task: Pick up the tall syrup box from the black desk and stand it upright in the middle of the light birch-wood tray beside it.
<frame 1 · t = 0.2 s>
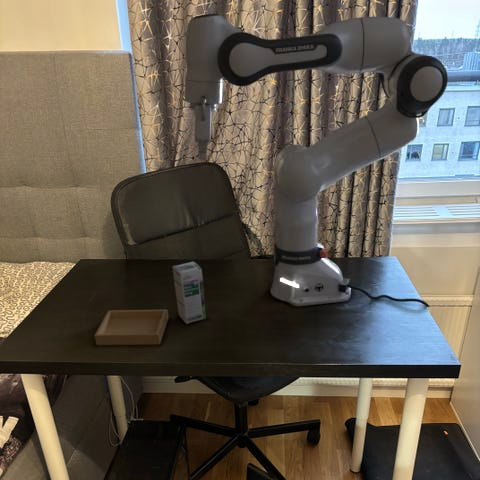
hand: (202, 155, 123), 39 cm above the table, tool pointing down, fingers open, 8 cm apart
syrup box: (192, 317, 131), on the table
tray: (133, 331, 125), on the table
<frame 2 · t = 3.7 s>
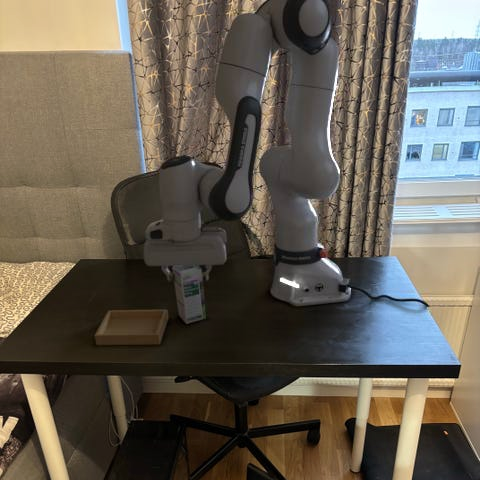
hand: (188, 280, 125), 11 cm above the table, tool pointing down, fingers closed on syrup box, 7 cm apart
syrup box: (192, 317, 131), on the table, touching gripper
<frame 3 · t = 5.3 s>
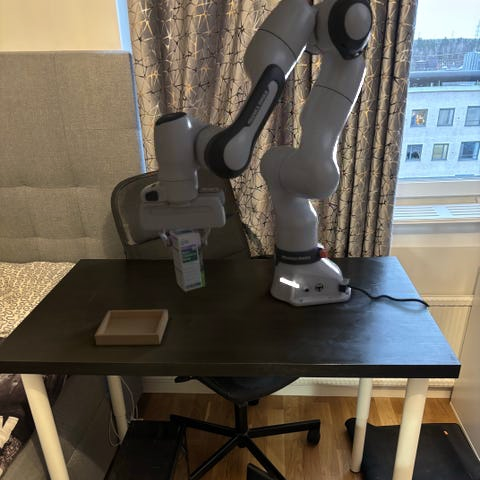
hand: (185, 245, 121), 20 cm above the table, tool pointing down, fingers closed on syrup box, 7 cm apart
syrup box: (191, 285, 127), point 9 cm above the table, touching gripper
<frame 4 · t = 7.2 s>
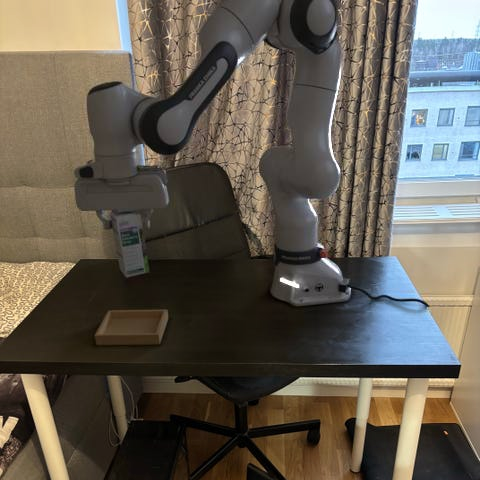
hand: (127, 228, 113), 27 cm above the table, tool pointing down, fingers closed on syrup box, 7 cm apart
syrup box: (134, 272, 119), point 16 cm above the table, touching gripper
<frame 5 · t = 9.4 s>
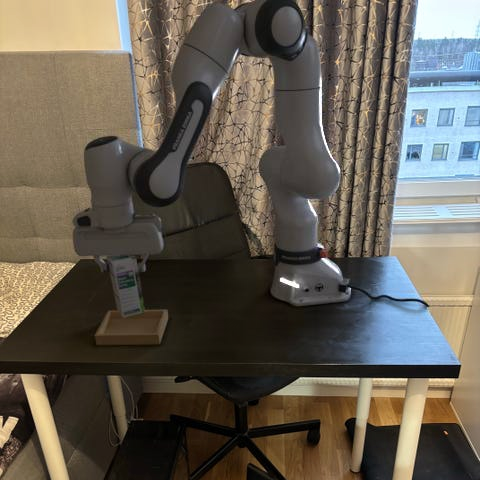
hand: (123, 271, 117), 17 cm above the table, tool pointing down, fingers closed on syrup box, 7 cm apart
syrup box: (131, 311, 123), point 6 cm above the table, touching gripper
when the fingers open (12 cm above the table, at t = 11.3 s): syrup box stays where it is, resting on tray.
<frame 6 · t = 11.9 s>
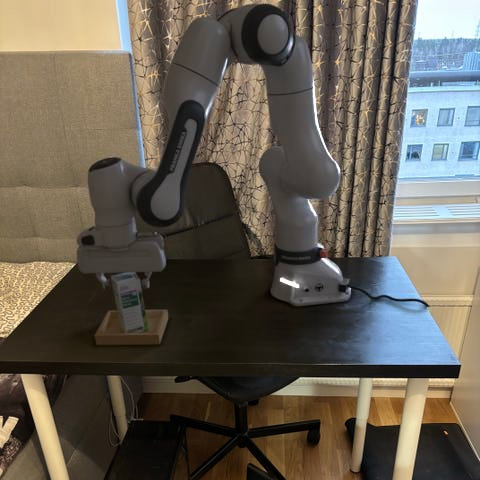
hand: (126, 287, 119), 12 cm above the table, tool pointing down, fingers open, 8 cm apart
syrup box: (134, 329, 125), point 1 cm above the table, touching tray
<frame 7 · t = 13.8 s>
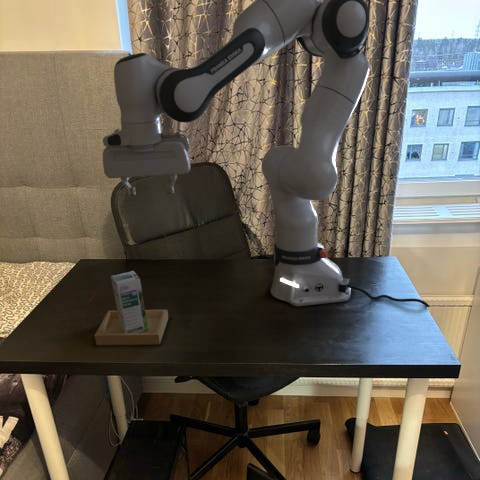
hand: (151, 194, 121), 31 cm above the table, tool pointing down, fingers open, 8 cm apart
nothing on the table moved.
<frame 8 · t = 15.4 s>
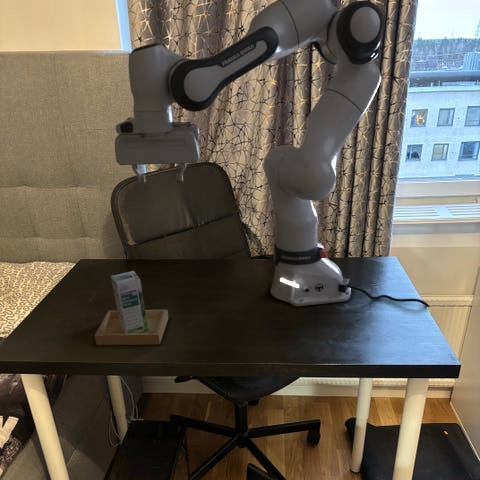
hand: (161, 182, 123), 33 cm above the table, tool pointing down, fingers open, 8 cm apart
nothing on the table moved.
at the end: syrup box inside the target area in the tray (0.2 cm from its centre), point 0.6 cm above the tray's base; syrup box tilted 0°; the gripper is holding nothing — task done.
